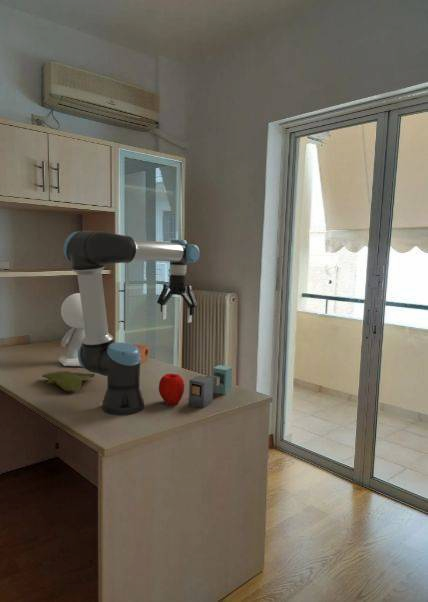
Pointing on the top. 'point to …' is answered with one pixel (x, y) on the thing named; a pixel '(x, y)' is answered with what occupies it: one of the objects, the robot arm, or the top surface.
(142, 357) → the crank
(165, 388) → the apple
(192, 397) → the sleeve
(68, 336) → the big headed doll
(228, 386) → the socket block
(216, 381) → the collared tan post
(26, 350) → the top surface
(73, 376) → the toy airplane
